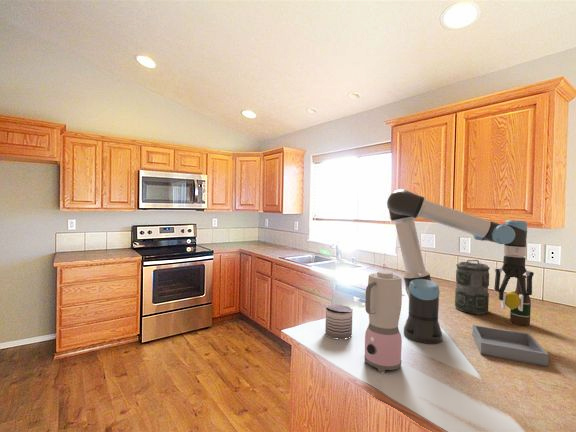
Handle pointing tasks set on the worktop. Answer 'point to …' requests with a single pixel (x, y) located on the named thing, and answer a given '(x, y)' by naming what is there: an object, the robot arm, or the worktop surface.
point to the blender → (383, 321)
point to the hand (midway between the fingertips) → (511, 308)
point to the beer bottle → (523, 316)
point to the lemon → (512, 300)
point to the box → (509, 345)
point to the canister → (472, 287)
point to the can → (338, 321)
